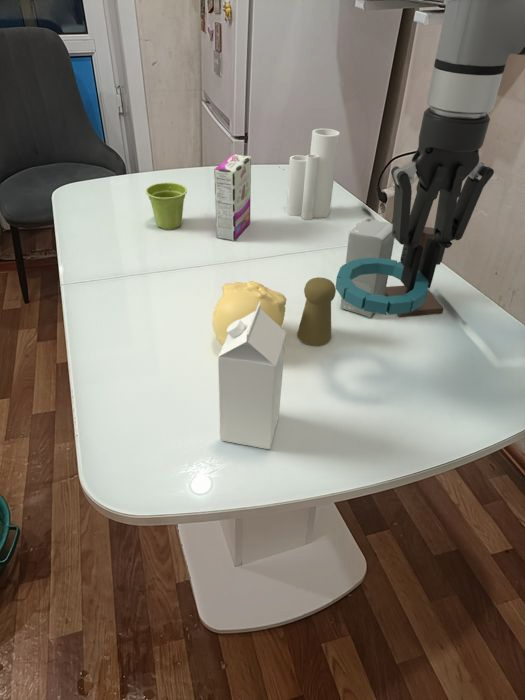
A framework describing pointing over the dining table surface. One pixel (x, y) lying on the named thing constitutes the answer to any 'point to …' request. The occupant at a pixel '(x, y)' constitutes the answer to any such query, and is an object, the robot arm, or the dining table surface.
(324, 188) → the vase
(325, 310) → the brown pawn
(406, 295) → the ring
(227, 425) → the milk carton
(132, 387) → the dining table surface
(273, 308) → the sculpture
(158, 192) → the plant pot
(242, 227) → the candy bar box
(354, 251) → the cosmetic box
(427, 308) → the post
